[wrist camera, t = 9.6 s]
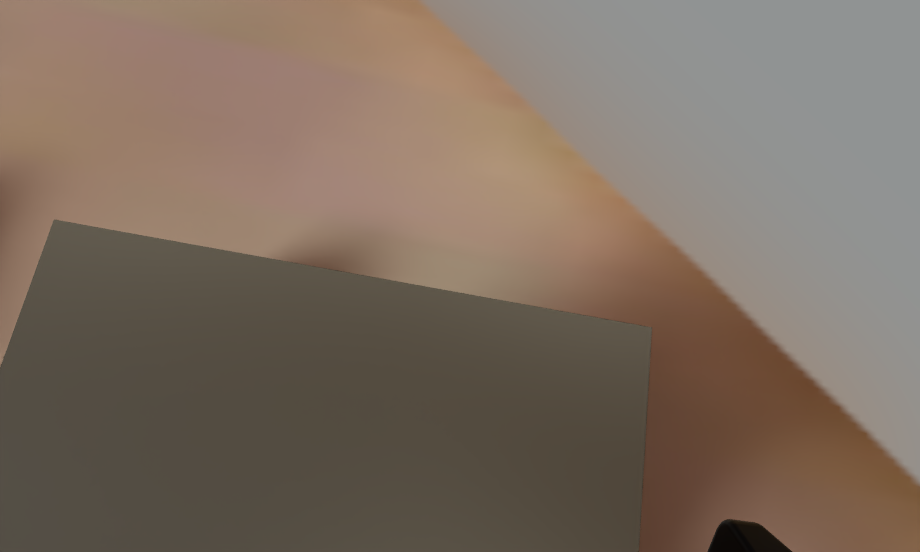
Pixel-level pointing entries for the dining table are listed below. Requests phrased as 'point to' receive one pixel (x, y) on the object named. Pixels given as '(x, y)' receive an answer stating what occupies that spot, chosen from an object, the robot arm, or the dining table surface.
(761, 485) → the dining table surface
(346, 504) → the grey-brown peg
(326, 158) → the dining table surface
